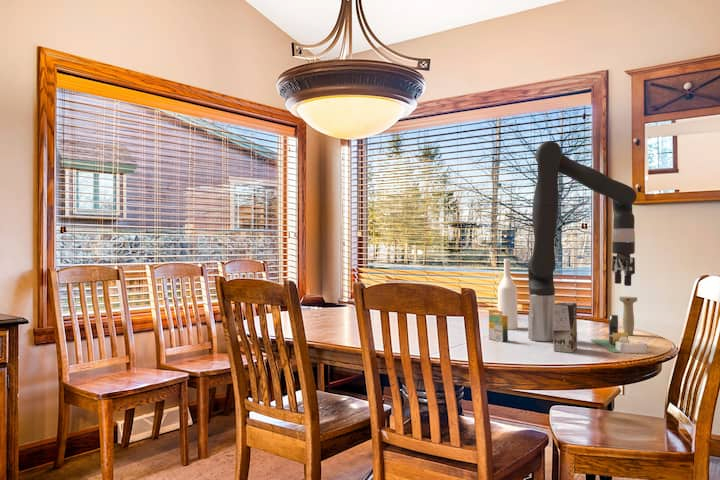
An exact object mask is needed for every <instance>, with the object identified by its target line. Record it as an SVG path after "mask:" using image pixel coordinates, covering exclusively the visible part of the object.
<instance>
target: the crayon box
mask: <svg viewBox="0 0 720 480" xmlns="http://www.w3.org/2000/svg"><path fill="white" fill-rule="evenodd" d="M498 313H499V314H498ZM508 331H509V330H508V316H505V315H502V311H498V310H495V309H488V340H491V341H496V342H500V343H506V342H509V340H508V339H509V333H508Z"/></svg>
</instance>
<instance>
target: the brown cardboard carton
mask: <svg viewBox="0 0 720 480" xmlns="http://www.w3.org/2000/svg"><path fill="white" fill-rule="evenodd" d="M608 340H609V344H611V345H615V344H613V339H612V336H609V335H608Z"/></svg>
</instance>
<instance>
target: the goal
mask: <svg viewBox="0 0 720 480" xmlns="http://www.w3.org/2000/svg"><path fill="white" fill-rule="evenodd" d="M616 349H617V350H618V351H620V352H621V353H620V354H648V343H647V342H646V343H645V342H643V341H638V343H630V344H623V343H621V342H616ZM636 352H637V353H636ZM643 352H644V353H643Z"/></svg>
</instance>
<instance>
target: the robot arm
mask: <svg viewBox="0 0 720 480" xmlns="http://www.w3.org/2000/svg"><path fill="white" fill-rule="evenodd" d="M562 151H563V150H562V148H561V146H560V145H559V144H558V143H557V142H556V141H554V140H553V141H552V140H547V141H544V142H542V143H541V144H540V145H539V146H537V149H536V150H535V155H534V156H535V157H534V158H535V161H536V163H537V177H536V178H537V180H536V184H535V188H534V195H533V200H532V201H533V202H532V211H531V212H532V229H533V236H534V244H533V249H532V250H533V251H532V255H531V256H530V258H529V259H528V265H527V266H528V269H527V271H528V289H529V313H528V317H527V318H528V326H527V328H528V330H527V331H528V339H530V340H531V341H534V342H535V341H537V342H552V341H553V342H554V331H553V305H554V304H556V295H555V292H556V290H555V289H556V288H555V283H554V282H555V281H554V272H555V270H556V250H555V249H556V247H555V246H556V245H555V244H556V243H555V242H556V241H555V240H556V233H557V228H558V227H557V225H558V217H559V173H560V174H562V175H564V176H566V177H567V178H570V179H572V180H574V181H576V182H577V183H579V184H581V185H583V186H584V187H585V188H588V189H589V190H591V191H593V192H594V193H597V194H599V195H602V196H606V197H608V198H610V199H612V201H611V202H612V211H613V227H612V228H613V229H612V243H611V244H612V245H611V246H612V248H611V251H612V254H613V255H612V261H611V271H612V272H613V274H614V284H618V285H621V284H622V275H623V274H624V275H623V277H624V278H623V279H624V280H623V281H624V282H623V284H624V286H626V287H631V286H632V276H633V275H635V274H636V263H635V261H636V259H635V257H633V256H631V255H634V254H635V253H636V250H635V249H636V234H635V215H634V213H633V204H634V203H635V202H636V201H637V197H638V194H637V192H636V190H635V189H634V188H633V187H632V186H629V185H627V184H625V183H623V182H620V181H618V180H615V179H613V178H611V177H610V176H608V175H607V174H605V173H602V172H600V171H599V170H597V169H595V168H594V167H593V168H592V167H589V166H587V165H584V164H582V163H579V162H577V161H575V160H573V159H571V158H569V157H568V156H566V155H565V154H564V153H563V152H562ZM622 273H623V274H622Z"/></svg>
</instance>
